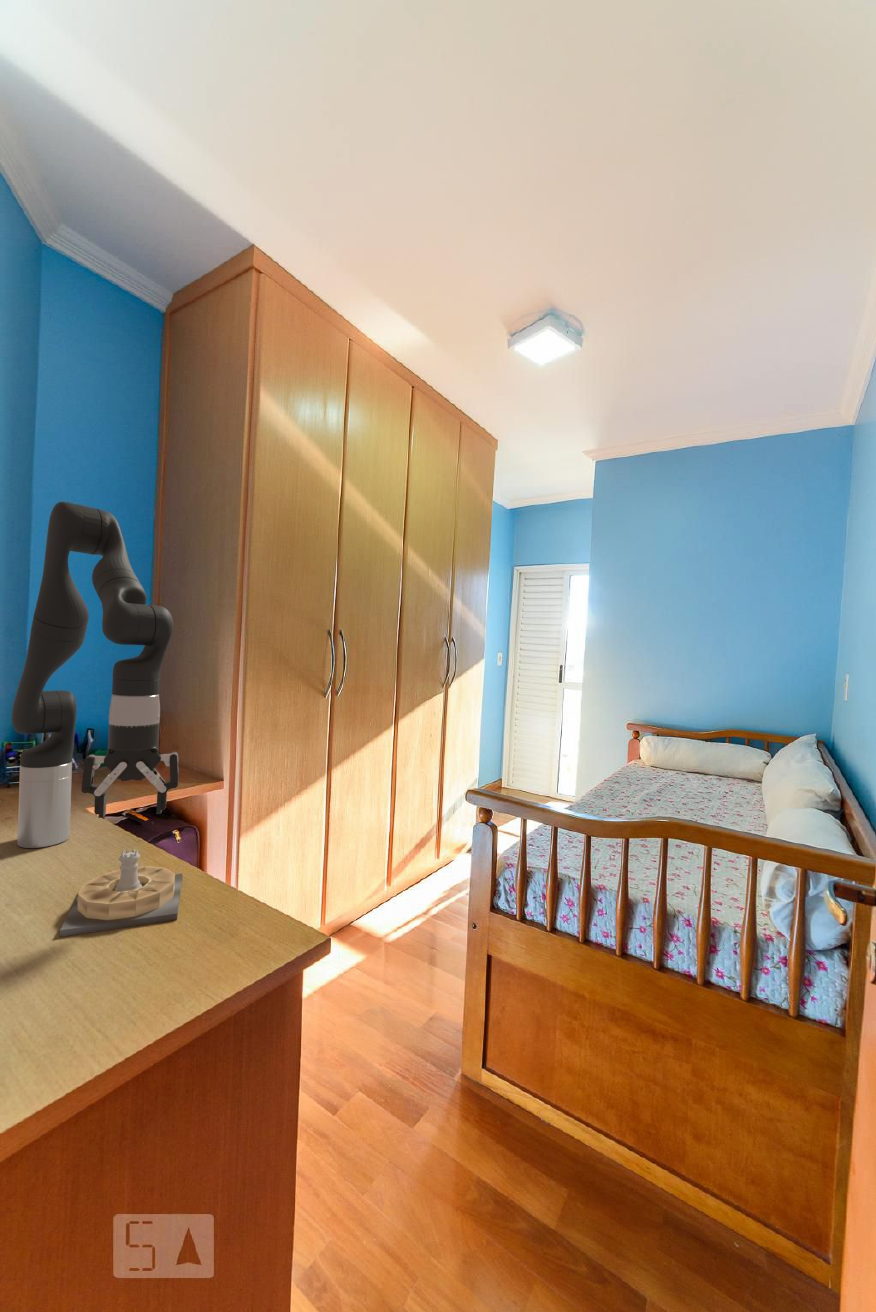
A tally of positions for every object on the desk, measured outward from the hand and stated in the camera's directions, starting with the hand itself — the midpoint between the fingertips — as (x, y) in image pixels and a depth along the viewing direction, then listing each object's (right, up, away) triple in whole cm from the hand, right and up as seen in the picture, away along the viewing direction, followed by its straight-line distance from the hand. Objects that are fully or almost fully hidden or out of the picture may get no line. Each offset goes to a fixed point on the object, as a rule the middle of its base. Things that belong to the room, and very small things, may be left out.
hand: (131, 814), depth 90 cm
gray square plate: (-1, -16, 0) cm, 16 cm away
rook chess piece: (-1, -15, 0) cm, 15 cm away
